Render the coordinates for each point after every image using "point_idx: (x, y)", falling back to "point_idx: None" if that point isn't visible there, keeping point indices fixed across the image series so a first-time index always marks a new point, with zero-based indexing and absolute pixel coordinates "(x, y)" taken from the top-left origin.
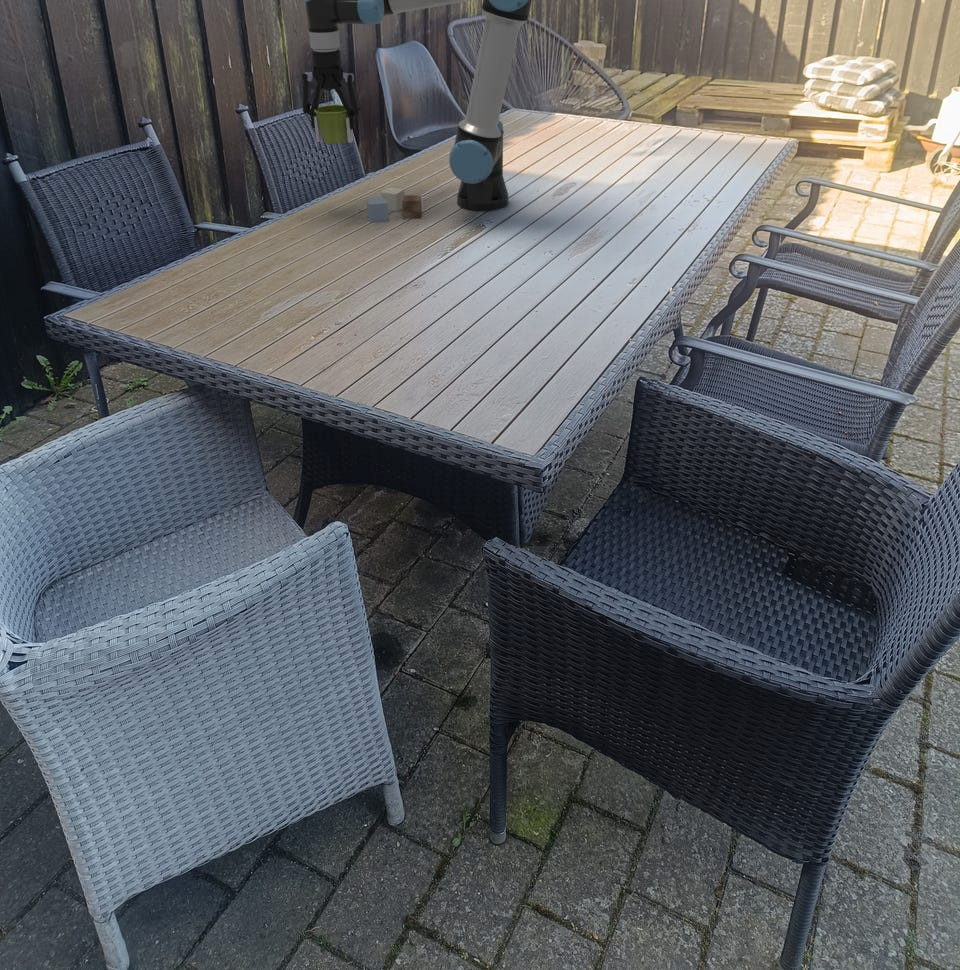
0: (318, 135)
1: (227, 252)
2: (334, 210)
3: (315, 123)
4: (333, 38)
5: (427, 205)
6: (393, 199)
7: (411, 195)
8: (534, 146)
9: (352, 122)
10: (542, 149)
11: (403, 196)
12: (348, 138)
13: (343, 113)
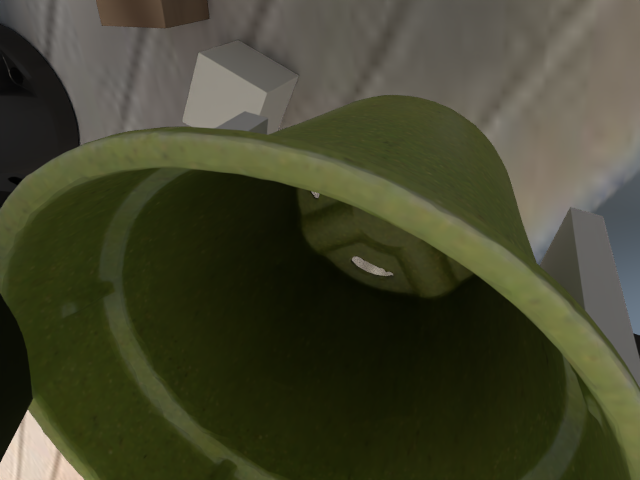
0: (577, 242)
1: None
2: (510, 81)
3: (621, 344)
4: None
5: (152, 104)
6: (224, 54)
7: (134, 26)
8: (62, 456)
9: None
10: (44, 437)
11: (161, 12)
12: (240, 127)
13: (53, 234)
